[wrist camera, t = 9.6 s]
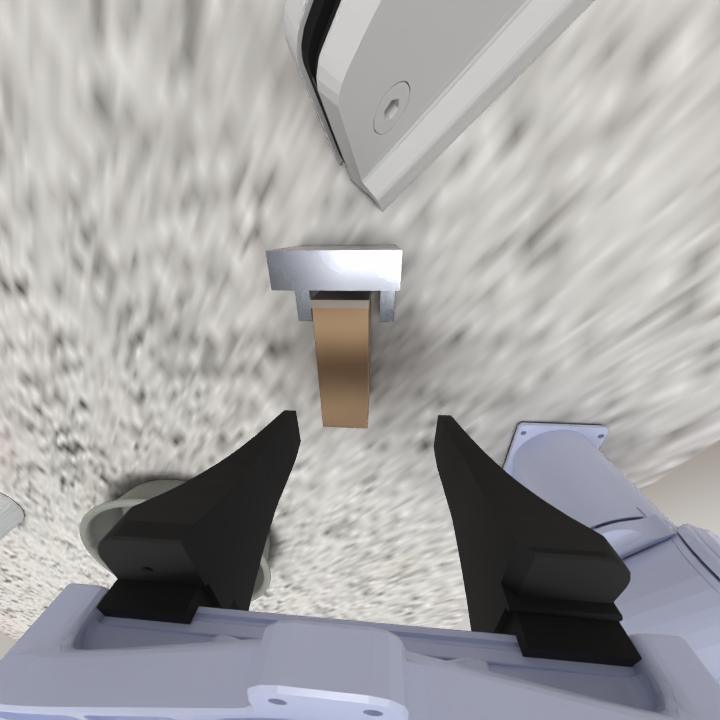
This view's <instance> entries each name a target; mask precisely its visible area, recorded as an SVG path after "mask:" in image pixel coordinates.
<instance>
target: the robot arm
mask: <svg viewBox="0 0 720 720" xmlns="http://www.w3.org/2000/svg"><path fill="white" fill-rule="evenodd" d="M522 431H523V432H522ZM608 431H609V430H608V428H606V427H605V426H602V425H575V424H548V423H520V424H519V425H518V426H517V429H516V432H515V435H514V438H513V441H512V444H511V447H510V450H509V453H508V456H507V459H506V462H505V465H504V468H503V469H502V468H501V467H500V466H499V465H498V464H496V463H495V462H494V461H493V460H492V459H491V458H490V457H489V456H488V455H487V454H486V453H485V452H484V451H483V450H482V449H481V448H480V447H479V446H478V445H477V444H476V443H475V442H474V441H473V440H472V439H471V438H470V437H469V435H468V434H467V433H466V432H465V431H464V430H463V429H462V428H461V426H460V425H459V424H458V423H457V422H456V421H455V420H454V418H453V417H452V416H449V415H438V420H437V427H436V434H435V441H434V451H435V458H436V463H437V468H438V471H439V475H440V478H441V482H442V485H443V488H444V492H445V495H446V499H447V502H448V505H449V509H450V512H451V516H452V520H453V525H454V530H455V535H456V540H457V546H458V551H459V557H460V562H461V568H462V574H463V580H464V586H465V592H466V598H467V604H468V611H469V618H470V625H471V631H461V630H451V629H440V628H429V627H418V626H407V625H396V624H385V623H374V622H363V621H352V620H341V619H330V618H319V617H308V616H297V615H286V614H275V613H264V612H253V611H249V606H250V602H251V598H252V594H253V590H254V585H255V581H256V577H257V574H258V570H259V566H260V562H261V558H262V554H263V551H264V547H265V544H266V540H267V537H268V533H269V530H270V526H271V523H272V520H273V517H274V513H275V510H276V507H277V505H278V502H279V499H280V497H281V494H282V492H283V490H284V487H285V485H286V482H287V480H288V477H289V475H290V473H291V470H292V468H293V465H294V463H295V460H296V457H297V453H298V450H299V446H300V442H301V440H300V434H299V427H298V421H297V415H296V411H288V410H284V411H283V412H282V413H281V414H280V415H278V416H277V417H276V418H275V419H274V420H273V421H272V422H271V423H270V424H268V425H267V426H266V427H265V428H264V429H263V430H262V431H260V432H259V433H258V434H257V435H256V436H255V437H253V438H252V439H251V440H249V441H248V442H247V443H246V444H244V445H243V446H242V447H241V448H239V449H238V450H237V451H235V452H234V453H232V454H231V455H230V456H228V457H227V458H225V459H224V460H222V461H221V462H219V463H218V464H216V465H215V466H213V467H211V468H209V469H208V470H206V471H204V472H203V473H201V474H199V475H198V476H196V477H194V478H192V479H190V480H188V481H187V482H185V483H183V484H181V485H179V486H177V487H175V488H173V489H171V490H169V491H167V492H165V493H162V494H160V495H158V496H156V497H153V498H151V499H149V500H146V501H144V502H142V503H140V504H137V505H135V506H132V507H131V508H130V509H129V510H128V511H127V512H126V513H125V514H124V516H123V517H122V518H121V519H120V520H119V521H118V522H117V523H116V524H115V525H114V526H113V528H112V529H111V530H110V531H109V532H108V533H107V534H106V535H105V536H104V537H103V538H102V540H101V541H100V542H99V544H98V555H99V556H100V558H101V559H102V561H103V562H104V563H105V564H106V565H107V567H108V568H109V569H110V570H111V571H112V573H113V574H114V575H115V576H116V577H117V581H116V582H115V583H114V584H113V586H112V587H111V588H110V590H109V589H108V588H105V587H103V586H98V585H87V584H75V583H71V584H69V585H67V586H66V588H65V589H64V590H63V591H62V592H61V593H60V594H59V595H58V597H57V598H56V599H55V600H54V601H53V602H52V603H51V604H50V605H49V607H48V608H47V609H46V610H45V611H44V612H43V613H42V614H41V616H40V617H39V618H38V619H37V620H36V621H35V622H34V623H33V625H32V626H31V627H30V628H29V629H28V630H27V631H26V632H25V633H24V635H23V636H22V637H21V638H20V639H19V640H18V641H17V642H16V644H15V645H14V646H13V647H12V648H11V649H10V650H9V652H8V653H7V654H6V655H5V656H4V657H3V658H2V660H0V720H720V537H719V536H717V535H716V534H714V533H713V532H711V531H709V530H705V529H702V528H698V527H694V526H692V525H690V524H683V525H681V526H679V527H677V526H675V525H674V524H673V523H672V522H671V521H670V520H669V519H668V518H667V517H666V516H665V515H664V514H663V513H662V512H661V511H660V510H659V509H658V508H657V507H656V506H655V505H654V504H653V503H652V502H651V501H650V500H649V499H648V498H647V497H646V496H645V495H644V494H643V493H642V492H641V491H640V490H639V489H638V488H637V487H636V486H635V485H634V484H633V483H632V482H631V481H630V480H629V479H628V478H627V477H626V476H625V475H624V474H623V473H622V472H621V471H620V470H619V469H618V468H617V467H616V466H615V465H613V464H612V463H611V462H610V461H609V460H608V459H607V458H606V457H605V456H604V455H603V454H602V453H601V452H600V451H599V448H600V446H601V445H602V443H603V441H604V439H605V437H606V436H607V434H608Z"/></svg>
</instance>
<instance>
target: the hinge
mask: <svg viewBox="0 0 720 720" xmlns="http://www.w3.org/2000/svg"><path fill="white" fill-rule="evenodd" d="M593 1H594V0H287V2H286V5H285V10H284V21H283V22H284V33H285V38H286V42H287V44H288V46H289V49H290V51H291V53H292V56H293V58H294V60H295V63H296V65H297V67H298V70H299V72H300V75H301V77H302V79H303V82H304V84H305V86H306V89H307V91H308V93H309V96H310V98H311V100H312V103H313V105H314V107H315V110H316V112H317V115H318V117H319V119H320V122H321V124H322V126H323V129H324V131H325V133H326V136H327V138H328V140H329V143H330V145H331V147H332V150H333V152H334V154H335V156H336V158H337V160H338V162H339V164H341V163H342V162H343V161H344V162H345V164H346V167H347V169H348V172H349V174H350V177H351V180H352V181H353V182H354V183H355V184H356V185H358V186H359V187H360V188H361V189H362V190H363V191H364V192H366V193H367V194H368V195H369V196H370V197H371V198H372V199H373V200H374V202H375V204H376V205H377V207H378V208H379V209H380V210H382V211H384V210H385V209H386V208H387V207H388V206H389V205H390V204H391V203H392V202H393V201H394V200H395V199H396V198H397V197H398V196H399V195H400V194H401V193H402V192H403V191H404V190H405V189H406V188H407V187H408V186H409V185H410V184H411V183H412V182H413V181H414V180H415V179H416V178H417V177H418V176H419V175H420V174H421V173H422V172H423V171H424V170H425V169H426V168H427V167H428V166H429V165H430V164H431V163H432V162H433V161H434V160H435V159H436V158H437V157H438V156H439V155H440V154H441V153H442V152H443V151H444V150H445V149H446V148H447V147H448V146H449V145H450V144H451V143H452V142H453V141H454V140H455V139H456V138H457V137H458V136H459V135H460V134H461V133H462V132H463V131H464V130H465V129H466V128H467V127H468V126H469V125H470V124H471V123H472V122H473V121H474V120H475V119H476V118H477V117H478V116H479V115H480V114H481V113H482V112H483V111H484V110H485V109H486V108H487V107H488V106H489V105H490V104H491V103H492V102H493V101H494V100H495V99H496V98H497V97H498V96H499V95H500V94H501V93H502V92H503V91H504V90H505V89H506V88H507V87H508V86H509V85H510V84H511V83H512V82H513V81H514V80H515V79H516V78H517V77H518V76H519V75H520V74H521V73H522V72H523V71H524V70H525V69H526V68H527V67H528V66H529V65H530V64H531V63H532V62H533V61H534V60H535V59H536V58H537V57H538V56H539V55H540V54H541V53H542V52H543V51H544V50H545V49H546V48H547V47H548V46H549V45H550V44H551V43H552V42H553V41H554V40H555V39H556V38H557V37H558V36H559V35H560V34H561V33H562V32H563V31H564V30H565V29H566V28H567V27H568V26H569V25H570V24H571V23H572V22H573V21H574V20H575V19H576V18H577V17H578V16H579V15H580V14H581V13H582V12H583V11H584V10H585V9H586V8H587V7H588V6H589V5H590V4H591V3H592V2H593Z"/></svg>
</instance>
